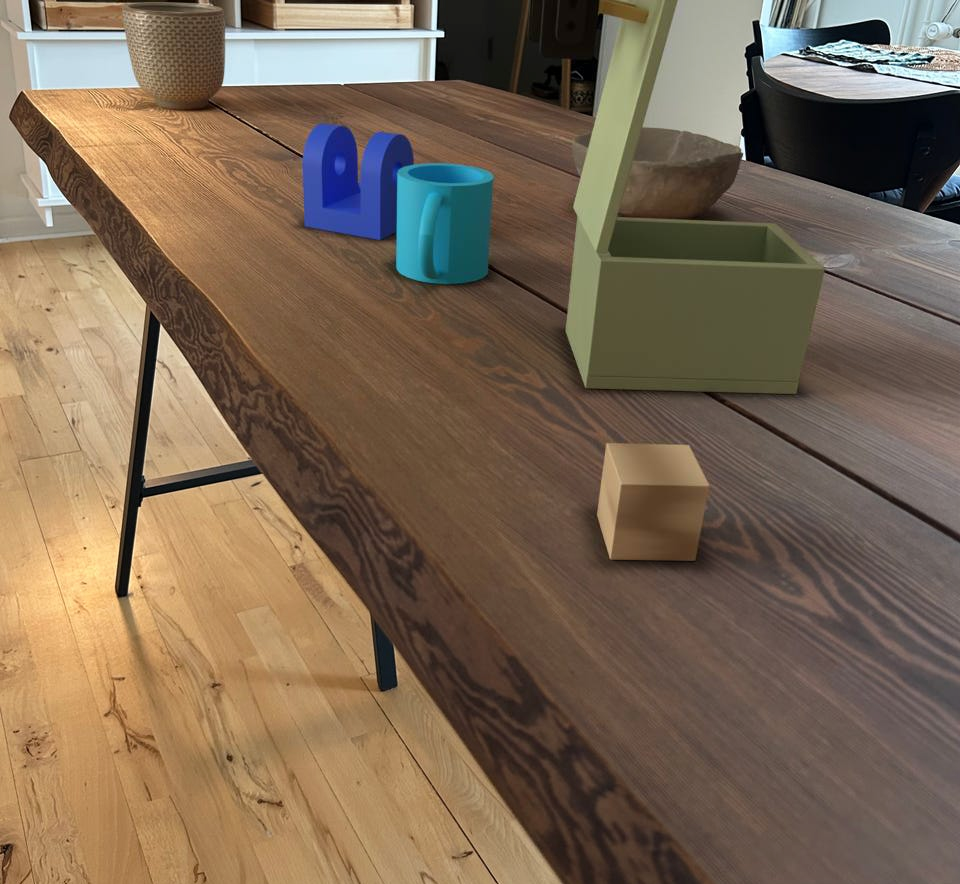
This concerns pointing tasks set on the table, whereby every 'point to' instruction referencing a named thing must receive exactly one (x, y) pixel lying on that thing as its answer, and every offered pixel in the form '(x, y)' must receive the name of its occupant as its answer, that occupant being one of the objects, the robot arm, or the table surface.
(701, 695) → the table surface
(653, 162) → the bowl
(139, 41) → the planter
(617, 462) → the block
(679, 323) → the chest
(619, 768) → the table surface
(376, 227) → the bracket
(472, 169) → the mug
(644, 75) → the chest lid
